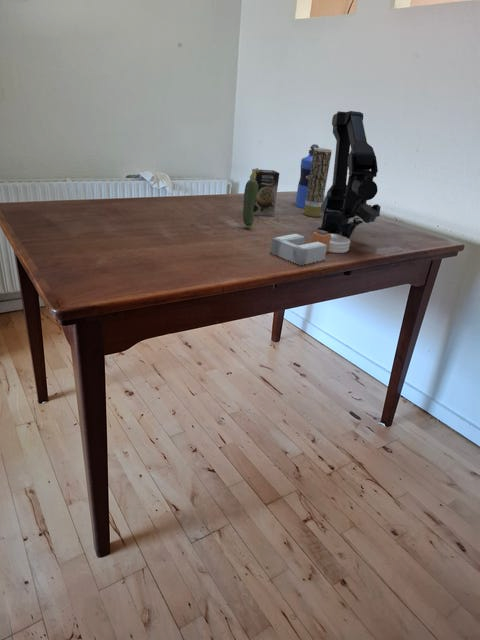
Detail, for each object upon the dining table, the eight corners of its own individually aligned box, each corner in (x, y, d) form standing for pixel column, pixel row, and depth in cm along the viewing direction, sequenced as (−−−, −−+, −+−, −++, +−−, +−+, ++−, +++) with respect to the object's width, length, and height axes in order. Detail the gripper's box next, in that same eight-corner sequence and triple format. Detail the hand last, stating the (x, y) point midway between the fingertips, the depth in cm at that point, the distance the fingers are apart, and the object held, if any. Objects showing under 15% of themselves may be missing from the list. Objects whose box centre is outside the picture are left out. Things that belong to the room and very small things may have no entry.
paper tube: (321, 218, 178) (333, 151, 167) (304, 216, 178) (315, 149, 167) (319, 214, 184) (330, 149, 173) (302, 212, 184) (312, 147, 173)
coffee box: (252, 215, 172) (256, 171, 165) (247, 211, 177) (251, 168, 170) (274, 216, 174) (280, 172, 167) (269, 211, 180) (274, 169, 173)
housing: (270, 253, 133) (272, 237, 131) (294, 248, 140) (296, 232, 138) (300, 265, 126) (303, 249, 124) (324, 259, 132) (327, 244, 130)
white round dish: (349, 246, 147) (351, 236, 145) (347, 255, 138) (350, 244, 137) (318, 241, 149) (320, 231, 147) (315, 250, 140) (317, 239, 139)
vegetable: (238, 227, 155) (244, 167, 146) (244, 225, 158) (250, 165, 149) (250, 230, 153) (256, 169, 144) (256, 228, 157) (262, 167, 148)
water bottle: (291, 203, 198) (300, 142, 186) (310, 203, 201) (320, 143, 189) (300, 208, 190) (309, 145, 179) (320, 209, 193) (330, 146, 181)
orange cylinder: (309, 249, 139) (312, 230, 136) (317, 248, 142) (321, 229, 139) (319, 253, 137) (323, 234, 134) (327, 251, 139) (331, 232, 136)
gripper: (359, 201, 129) (349, 253, 136) (393, 196, 141) (382, 244, 148) (328, 193, 136) (320, 243, 143) (363, 188, 148) (354, 235, 155)
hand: (345, 241), depth 147 cm, fingers closed
